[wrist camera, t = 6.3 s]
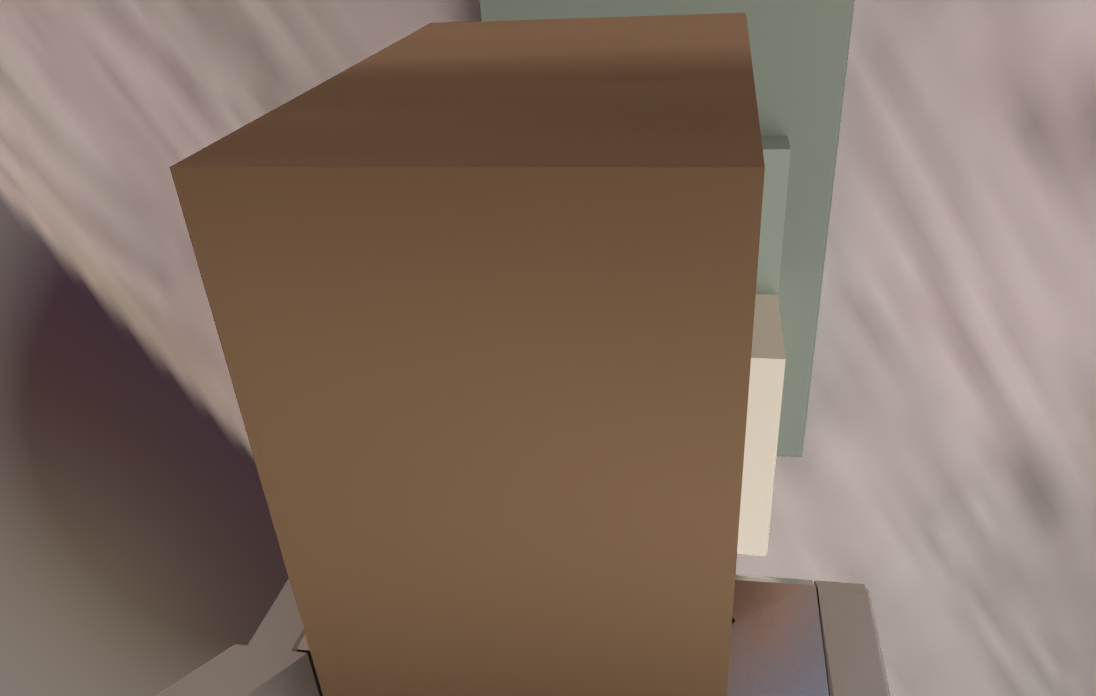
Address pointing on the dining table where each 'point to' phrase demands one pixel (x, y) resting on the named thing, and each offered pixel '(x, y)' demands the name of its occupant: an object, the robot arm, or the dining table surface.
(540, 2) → the grey slotted holder
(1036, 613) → the dining table surface
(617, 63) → the brown rectangular block
